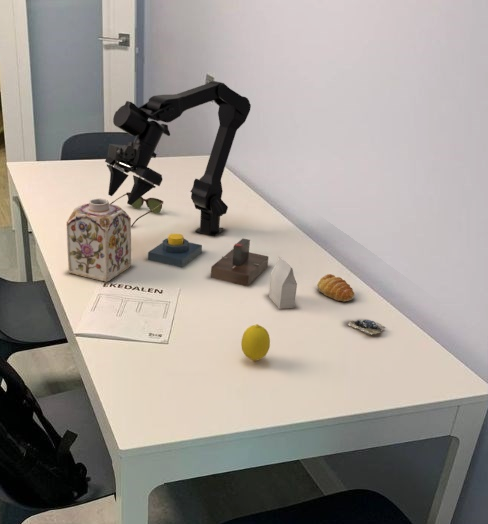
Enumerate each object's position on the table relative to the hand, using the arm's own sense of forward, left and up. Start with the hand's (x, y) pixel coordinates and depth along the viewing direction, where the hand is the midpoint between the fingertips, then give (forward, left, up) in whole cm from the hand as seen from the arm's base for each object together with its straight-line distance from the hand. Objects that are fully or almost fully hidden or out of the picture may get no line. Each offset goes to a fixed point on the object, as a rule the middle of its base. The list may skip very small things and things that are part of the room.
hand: (119, 199), depth 172 cm
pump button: (-6, +13, -11) cm, 19 cm away
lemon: (+34, +51, -15) cm, 63 cm away
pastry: (-5, +57, -15) cm, 60 cm away
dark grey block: (-5, +32, -12) cm, 35 cm away
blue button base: (-6, +13, -15) cm, 21 cm away
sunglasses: (-27, -13, -15) cm, 34 cm away
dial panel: (-5, +32, -15) cm, 36 cm away
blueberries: (+10, +65, -11) cm, 67 cm away
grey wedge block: (+6, +47, -15) cm, 50 cm away
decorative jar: (+12, +1, -15) cm, 19 cm away
